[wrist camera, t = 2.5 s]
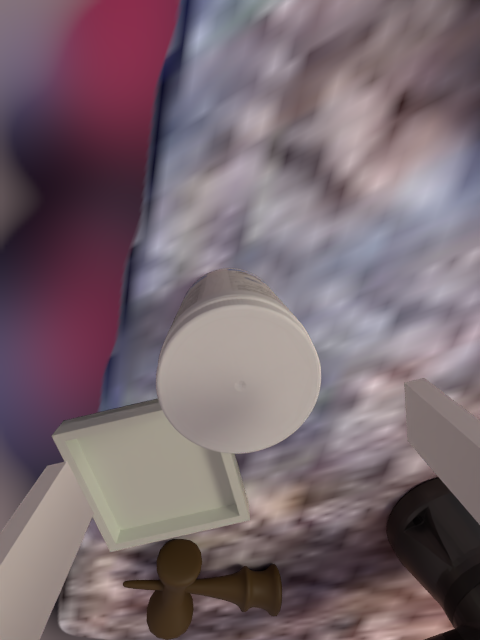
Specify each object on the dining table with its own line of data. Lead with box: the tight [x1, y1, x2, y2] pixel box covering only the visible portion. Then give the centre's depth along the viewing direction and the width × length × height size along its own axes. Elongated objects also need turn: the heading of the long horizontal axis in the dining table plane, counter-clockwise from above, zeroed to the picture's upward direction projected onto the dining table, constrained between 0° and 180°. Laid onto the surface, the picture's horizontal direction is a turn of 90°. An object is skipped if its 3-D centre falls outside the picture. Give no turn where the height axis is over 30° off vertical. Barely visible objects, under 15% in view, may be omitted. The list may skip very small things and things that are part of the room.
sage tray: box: [52, 399, 250, 552], centre depth 34 cm, size 17×17×2 cm
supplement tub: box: [156, 268, 321, 454], centre depth 24 cm, size 10×10×15 cm
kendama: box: [123, 539, 282, 640], centre depth 39 cm, size 6×10×20 cm
